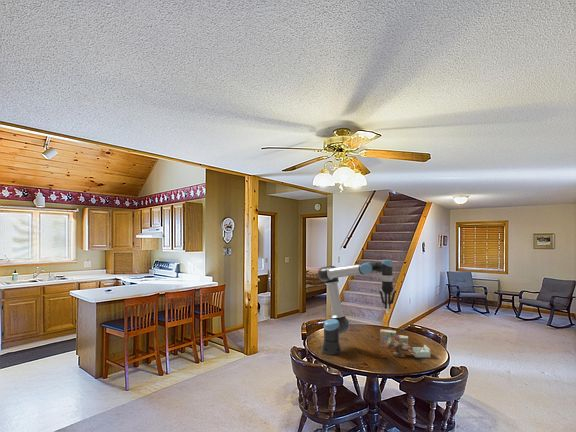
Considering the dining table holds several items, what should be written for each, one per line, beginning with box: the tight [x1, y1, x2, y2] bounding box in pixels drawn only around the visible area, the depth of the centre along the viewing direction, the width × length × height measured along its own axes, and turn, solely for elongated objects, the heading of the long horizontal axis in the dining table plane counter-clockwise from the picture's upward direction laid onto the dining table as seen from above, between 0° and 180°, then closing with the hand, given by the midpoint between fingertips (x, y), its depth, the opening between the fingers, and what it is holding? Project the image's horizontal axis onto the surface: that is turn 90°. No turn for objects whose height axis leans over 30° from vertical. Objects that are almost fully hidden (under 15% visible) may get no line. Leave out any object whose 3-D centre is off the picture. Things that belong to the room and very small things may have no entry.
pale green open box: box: [411, 344, 431, 359], centre depth 250 cm, size 11×10×6 cm
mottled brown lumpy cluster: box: [385, 338, 416, 355], centre depth 248 cm, size 18×11×7 cm, turn 88°
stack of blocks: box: [379, 329, 409, 351], centre depth 268 cm, size 21×6×12 cm, turn 64°
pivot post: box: [392, 345, 405, 358], centre depth 251 cm, size 6×8×8 cm
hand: (387, 313), depth 246 cm, fingers closed
